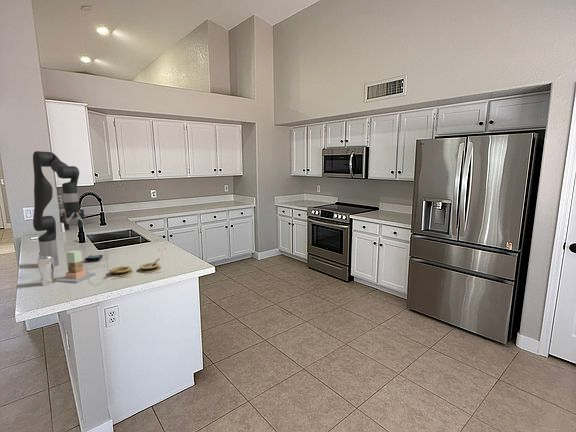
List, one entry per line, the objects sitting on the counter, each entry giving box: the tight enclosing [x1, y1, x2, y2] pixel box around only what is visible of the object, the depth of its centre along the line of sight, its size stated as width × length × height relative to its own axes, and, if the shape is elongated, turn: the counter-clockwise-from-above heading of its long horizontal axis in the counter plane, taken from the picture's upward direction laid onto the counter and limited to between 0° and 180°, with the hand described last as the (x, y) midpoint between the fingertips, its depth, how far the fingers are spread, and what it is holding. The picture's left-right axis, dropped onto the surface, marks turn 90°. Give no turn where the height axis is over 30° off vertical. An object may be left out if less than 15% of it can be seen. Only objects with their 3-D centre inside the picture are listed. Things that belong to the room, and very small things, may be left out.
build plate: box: [55, 269, 97, 284], centre depth 182 cm, size 14×14×4 cm
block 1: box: [66, 250, 83, 264], centre depth 181 cm, size 5×5×6 cm
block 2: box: [67, 260, 84, 273], centre depth 181 cm, size 5×5×6 cm
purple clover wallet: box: [84, 254, 104, 263], centre depth 218 cm, size 9×3×11 cm
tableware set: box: [108, 258, 162, 280], centre depth 194 cm, size 30×20×6 cm, turn 117°
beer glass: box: [37, 256, 56, 287], centre depth 172 cm, size 7×7×15 cm
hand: (73, 228), depth 182 cm, fingers open, 8 cm apart
